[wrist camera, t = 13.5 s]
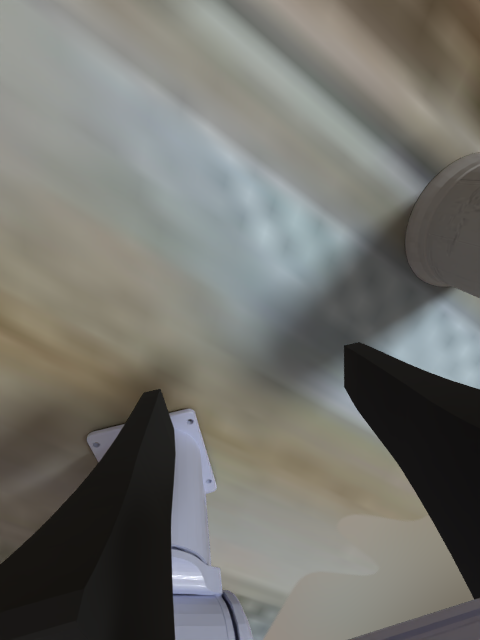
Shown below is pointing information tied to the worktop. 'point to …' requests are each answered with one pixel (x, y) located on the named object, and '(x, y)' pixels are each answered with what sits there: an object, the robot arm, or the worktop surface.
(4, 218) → the worktop surface
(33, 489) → the worktop surface
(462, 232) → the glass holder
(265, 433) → the worktop surface
